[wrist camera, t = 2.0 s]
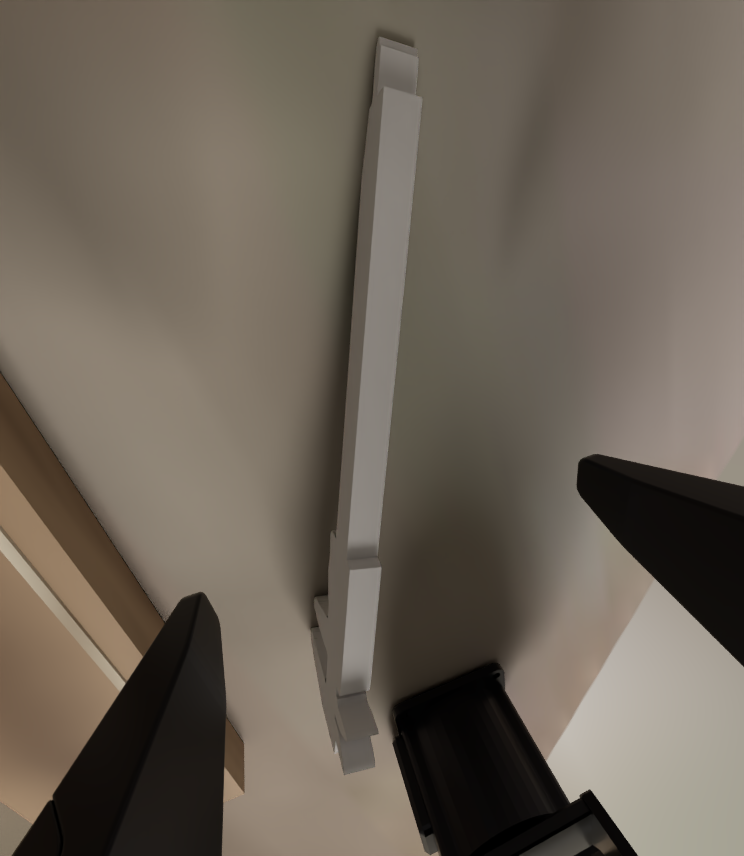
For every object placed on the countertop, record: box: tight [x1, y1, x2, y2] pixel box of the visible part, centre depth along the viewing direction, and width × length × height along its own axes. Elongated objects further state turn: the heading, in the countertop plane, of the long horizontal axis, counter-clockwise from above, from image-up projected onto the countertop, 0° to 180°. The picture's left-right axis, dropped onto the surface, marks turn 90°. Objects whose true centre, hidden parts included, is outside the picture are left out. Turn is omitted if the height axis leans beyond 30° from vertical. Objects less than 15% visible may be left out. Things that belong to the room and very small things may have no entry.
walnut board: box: [0, 373, 244, 824], centre depth 12 cm, size 6×24×2 cm, turn 11°
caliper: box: [311, 37, 423, 775], centre depth 12 cm, size 20×1×6 cm, turn 172°
